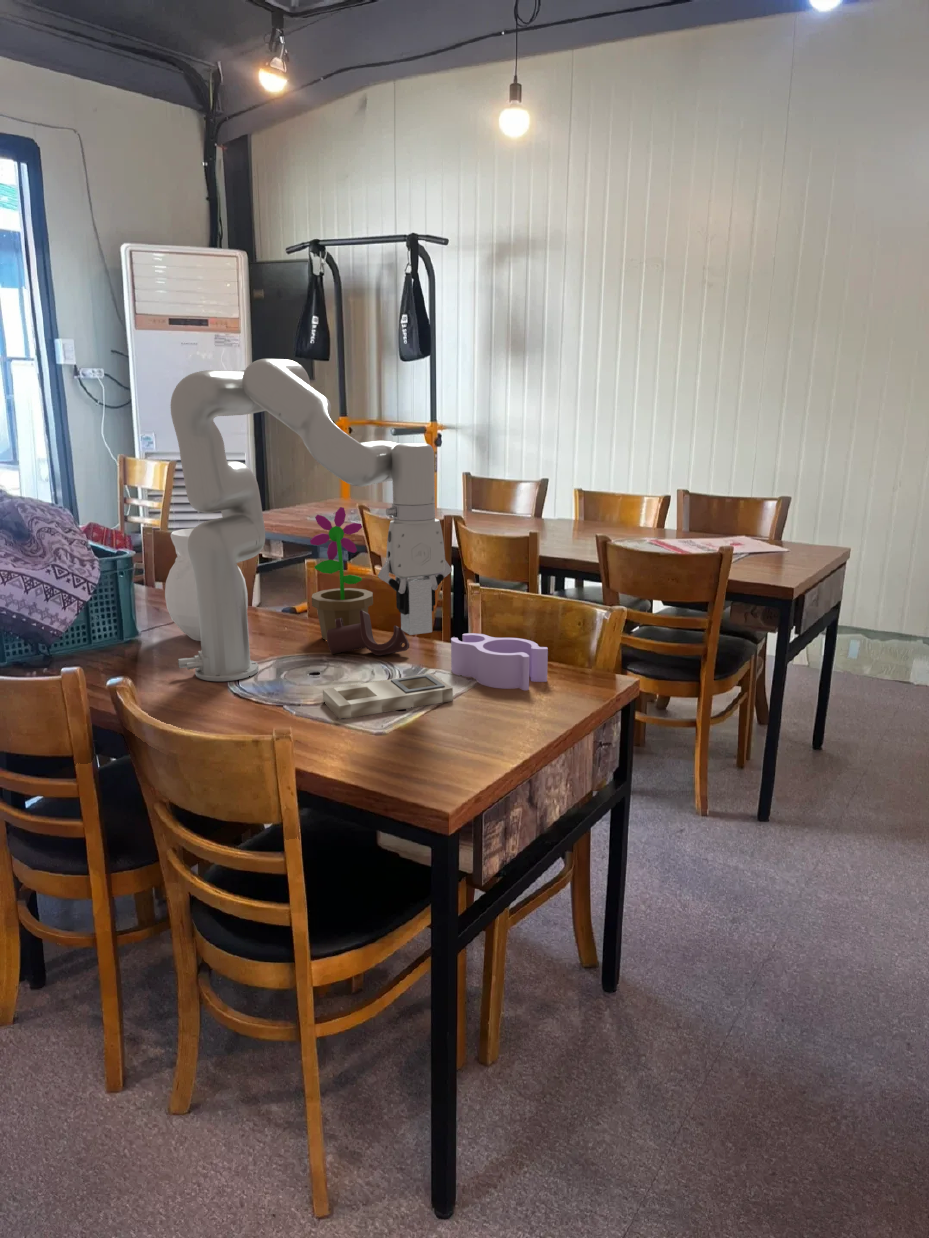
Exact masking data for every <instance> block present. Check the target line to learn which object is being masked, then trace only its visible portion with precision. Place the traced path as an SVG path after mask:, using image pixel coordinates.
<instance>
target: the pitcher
mask: <svg viewBox="0 0 929 1238" xmlns="http://www.w3.org/2000/svg"><path fill="white" fill-rule="evenodd" d="M194 528H195V527H193V528H192V527H191V528H183V529H177V530H174V531H172V532H171V533H170V538H171V542H172V545H173V546H174V548H175V554H176V558H175V559H174V563H173V565H172V566H171V568H170V569H169V572H168V575H167V578H166V580H165V586H164V587H165V590H164V598H165V605H166V608H167V611H168V614H169V617H170V619H171V621H173V622H174V624H175V625H176V626H177V627H178V628H179V630H181V632H182V633H184V634H185V635H187V636H188V637H189V638H190V639H191V640H194V641H195V642H201V638H200V626H199V614H198V601H197V592H196V583H195V576H194V571H193V567H192V563H191V560H190V557H189V552H188V539H189V536H190V534H191V532H192V531H193V529H194ZM238 569H239V571H240V573H241V575H242V578H243V580H244V584H245V592H246V604H247V609H248V607H249V606H248V605H249V600H248V599H249V598H248V595H249V594H248V588H247V584H246V578H245V576H244V575H243V573H242V570H241V568H240V567H239V566H238Z"/></svg>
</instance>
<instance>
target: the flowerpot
mask: <svg viewBox="0 0 929 1238" xmlns="http://www.w3.org/2000/svg"><path fill="white" fill-rule="evenodd" d="M334 514H335V515H334V519H333V521H334V524H335V526H333V525H332V522H331V521H330V520H329V519H328V518H327V517H325V516H324V515H321V514H316V515H315V516H314V517H315V521H316V523H317V525H318V526H320V528H322V529H323V530H324V531H328V533H324V532H322V533H318V534H316V535H314V536H313V537H312V538H311V539H310V540H309V542H310V545H313V546H320V545H323V544H326V543H327V542H328V541H329V540H331V542H330V543H329V544H328V547H327V550H326V551H327V552H326V555H327V559H328V560H323V561H321V562H319V563H317V564H316V565H315V566H314V570H317V571H318V572H321V573H322V574H335V573H337V572H339V587H337V588H330V589H323V590H320V591H317V592H314V593H312V596H311V607H312V608H315V609H316V610H317V616H318V621H319V628H320V632H321V638H323V639H325V640H327V630H328V629H333V628H336V623H335V619H338V618H342V620H343V624H344V626H348V625H353V624H359V623H360V610H362V611H364V612H366V613H368V614H369V607H370V606H373V604H374V598H373V597H374V596H373V594H374V592H373V591H371V590H367V589H363V588H352V587H345V584H347V585H354V584H355V585H356V584H358V583H359V582H361V581H363V578H362V577H360V576H358V575H356V574H355V575H354V574H346V575H345V573H344V561H343V552H342V551H343V550H342V547H343V548H344V549H345V550H346V551H347V552H350V553H353V554H354V553H356V552H357V551H358V549H357V546H356V543H354V542H353V541H352V540H351V539H350V538H348V537H344V535H353V534H356V533H358V532H360V530H361V529H362V528H363V524H362V523H359V522H352V523H349V524H347V525H345V526H344V527H343V528H342V526H343V525H344V524H345V519H346V511H345V507H342V506H340V507H338V509H337V510H336V512H335V513H334ZM337 555H338V560H334V559H335V558H336V557H337Z"/></svg>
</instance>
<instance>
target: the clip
mask: <svg viewBox="0 0 929 1238" xmlns="http://www.w3.org/2000/svg"><path fill="white" fill-rule="evenodd" d="M461 638H462V641H461V640H459V638H458V637H451V638H450V650H451V651H450V658H451V659H450V661H451V663H450V667H451V670H450V671H451V673H453V674H454V675H456V676H460V675H462V676H461V677H468V678H473V679H475V680H476V682H477V681H478V682H477V683H479V684H480V685H482V686H485V687H489V688H494V689H506V690H507V689H508V690H509V689H511V690H512V689H521V690H522V691H528V690H530V681H531V682H535V683H536V682H537V683H542V682H543V683H546V682H548V661H549V659H548V656H549V651H548V650H549V649H548V647H547V646H539V644H538V643H536V642H535V641H533V640H530V639H526V638H519V637H496V636H495V637H494V636H489V635H487V634H484V633H475V632H472V633H468V632H467V633H463V634H462V637H461Z"/></svg>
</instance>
